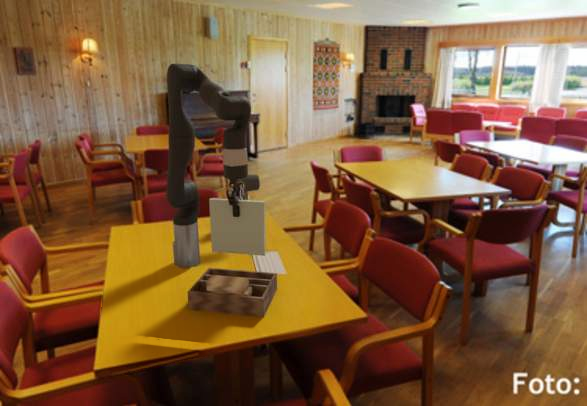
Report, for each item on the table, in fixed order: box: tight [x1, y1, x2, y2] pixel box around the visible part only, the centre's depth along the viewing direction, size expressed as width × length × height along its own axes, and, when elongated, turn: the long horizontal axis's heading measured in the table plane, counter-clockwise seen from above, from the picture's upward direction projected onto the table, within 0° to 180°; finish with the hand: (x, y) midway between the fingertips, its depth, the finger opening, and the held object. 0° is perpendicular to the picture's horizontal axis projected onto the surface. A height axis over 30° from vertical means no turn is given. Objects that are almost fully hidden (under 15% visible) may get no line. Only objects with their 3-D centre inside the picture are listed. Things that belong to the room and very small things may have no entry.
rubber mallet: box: [243, 174, 261, 200], centre depth 194 cm, size 12×8×30 cm, turn 105°
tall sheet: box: [208, 197, 267, 256], centre depth 141 cm, size 18×2×18 cm, turn 79°
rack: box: [187, 267, 278, 318], centre depth 141 cm, size 24×18×8 cm
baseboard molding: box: [251, 249, 288, 275], centre depth 167 cm, size 31×3×12 cm
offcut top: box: [206, 275, 249, 294], centre depth 135 cm, size 12×5×3 cm, turn 79°
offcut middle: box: [210, 287, 252, 296], centre depth 136 cm, size 12×5×3 cm, turn 79°
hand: (237, 215), depth 140 cm, fingers closed on tall sheet, 1 cm apart
